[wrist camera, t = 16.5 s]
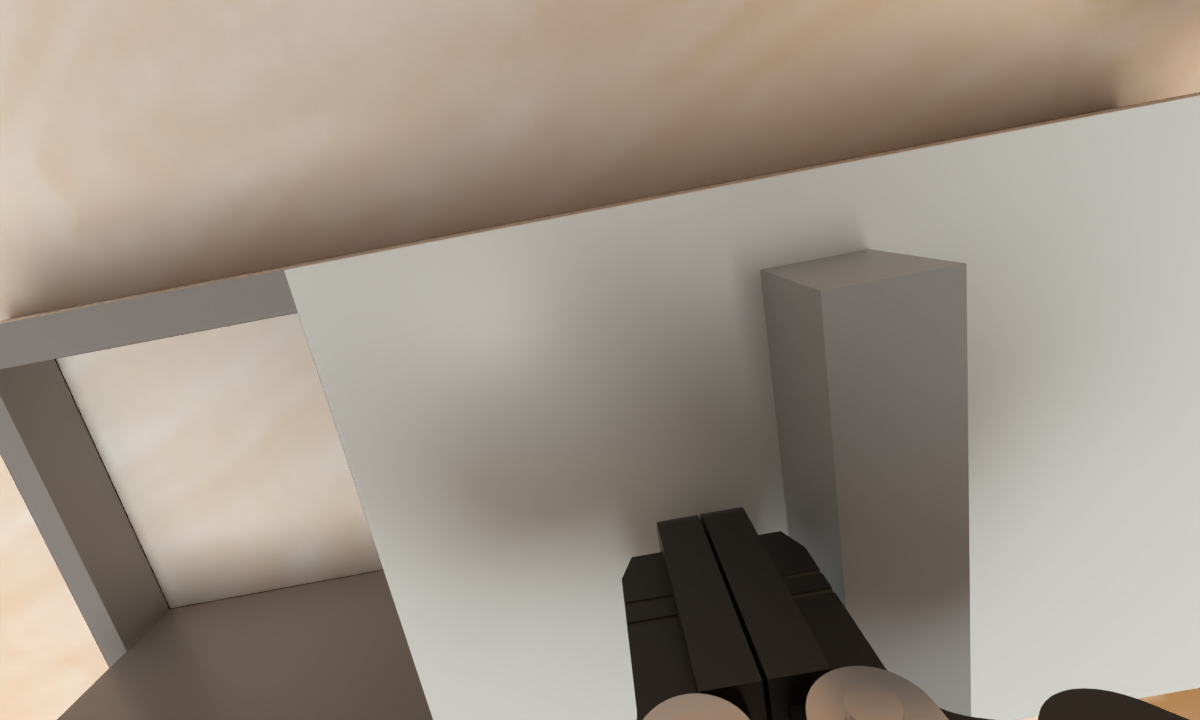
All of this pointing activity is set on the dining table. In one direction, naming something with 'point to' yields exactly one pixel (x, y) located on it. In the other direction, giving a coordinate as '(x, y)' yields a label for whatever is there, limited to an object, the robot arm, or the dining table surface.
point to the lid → (800, 415)
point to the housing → (120, 569)
